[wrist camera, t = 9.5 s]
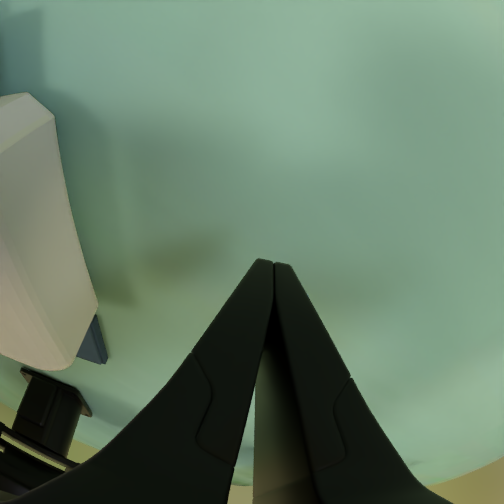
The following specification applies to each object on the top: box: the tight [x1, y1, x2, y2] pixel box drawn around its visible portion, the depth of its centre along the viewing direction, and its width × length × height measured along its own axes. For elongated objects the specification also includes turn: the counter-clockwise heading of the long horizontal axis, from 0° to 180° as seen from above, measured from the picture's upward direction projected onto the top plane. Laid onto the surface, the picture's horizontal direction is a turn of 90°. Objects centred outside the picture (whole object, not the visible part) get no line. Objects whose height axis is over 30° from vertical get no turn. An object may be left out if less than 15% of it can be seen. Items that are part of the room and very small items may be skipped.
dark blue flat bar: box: [76, 315, 108, 365], centre depth 16 cm, size 4×15×1 cm, turn 78°
